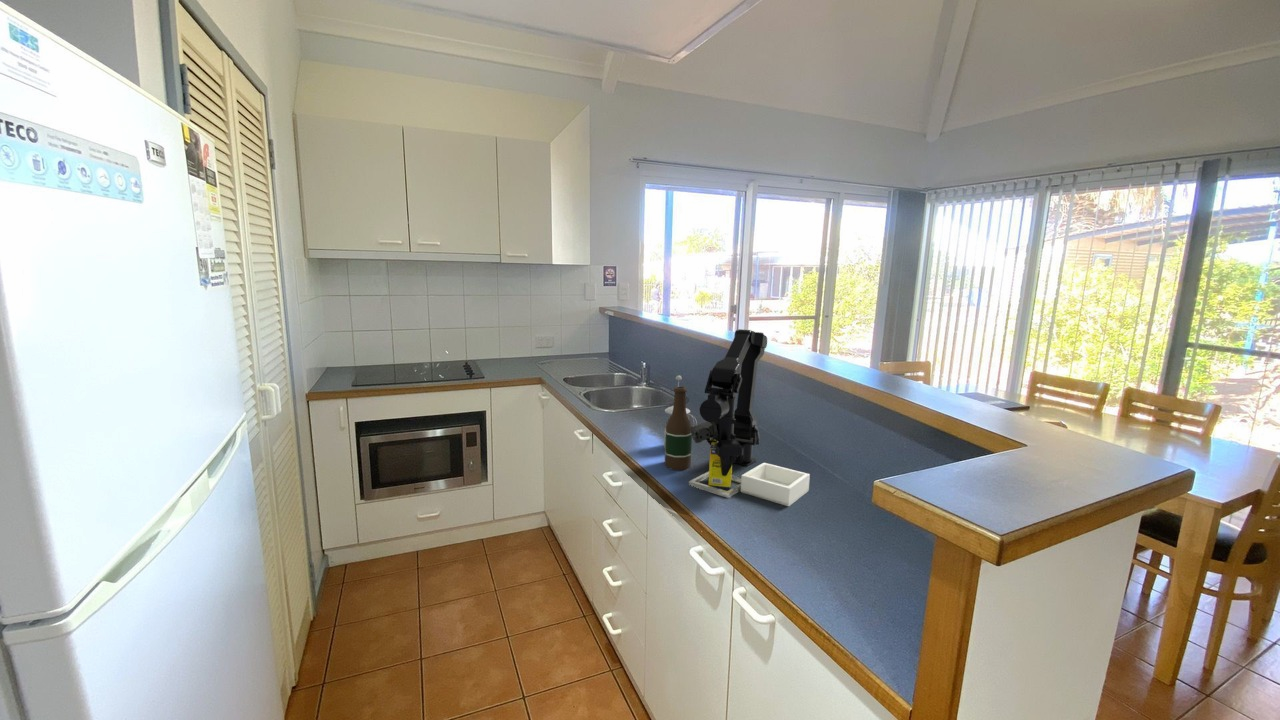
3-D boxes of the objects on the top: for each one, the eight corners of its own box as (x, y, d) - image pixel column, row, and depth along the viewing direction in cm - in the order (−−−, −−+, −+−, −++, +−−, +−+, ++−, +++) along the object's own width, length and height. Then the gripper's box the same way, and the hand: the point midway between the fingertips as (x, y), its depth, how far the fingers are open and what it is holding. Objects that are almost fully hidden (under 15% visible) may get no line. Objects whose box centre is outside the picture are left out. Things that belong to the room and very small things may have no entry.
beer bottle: (672, 474, 143) (675, 391, 140) (659, 465, 150) (661, 385, 147) (695, 470, 147) (699, 389, 144) (681, 461, 154) (684, 384, 150)
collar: (712, 473, 145) (712, 469, 145) (750, 484, 137) (750, 480, 137) (688, 485, 136) (689, 481, 135) (728, 498, 128) (728, 493, 128)
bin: (763, 478, 142) (763, 462, 141) (808, 490, 134) (809, 474, 133) (740, 492, 132) (741, 475, 131) (788, 506, 124) (789, 488, 123)
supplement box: (730, 490, 133) (733, 450, 131) (707, 488, 134) (709, 448, 132) (731, 482, 139) (733, 443, 137) (709, 479, 140) (711, 441, 138)
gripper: (686, 405, 142) (684, 459, 144) (701, 423, 124) (698, 484, 126) (725, 405, 143) (722, 458, 145) (745, 423, 125) (742, 483, 127)
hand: (720, 470), depth 136 cm, fingers closed on supplement box, 7 cm apart
